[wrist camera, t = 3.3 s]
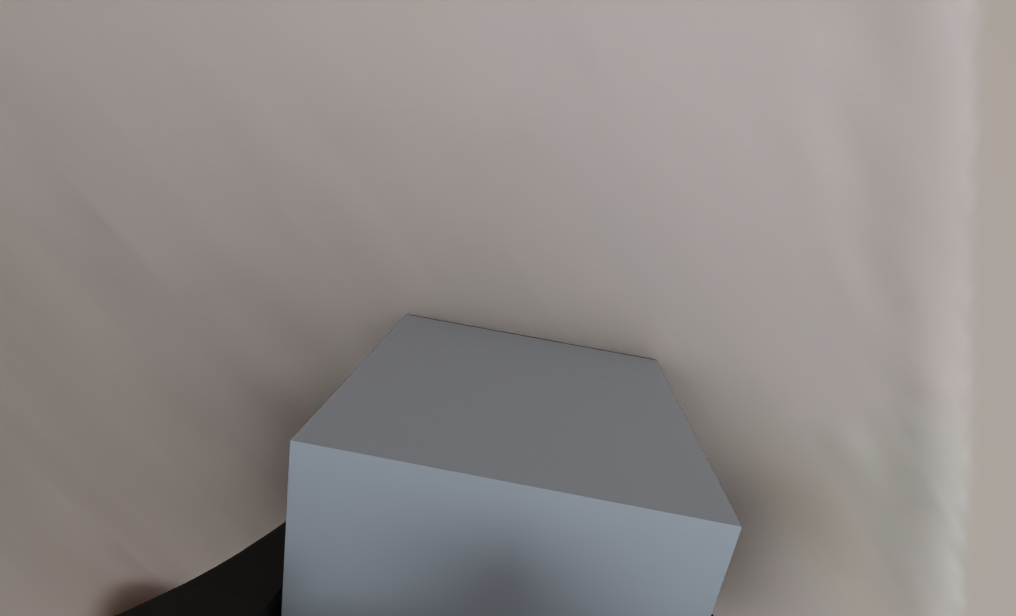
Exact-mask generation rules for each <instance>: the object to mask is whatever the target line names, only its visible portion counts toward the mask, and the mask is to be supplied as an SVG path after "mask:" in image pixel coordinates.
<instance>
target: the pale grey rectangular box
mask: <svg viewBox="0 0 1016 616" xmlns="http://www.w3.org/2000/svg"><path fill="white" fill-rule="evenodd" d="M741 529H742V525H741V523H740V522H739V520H738V518H737V516H736V514H735V512H734V510H733V508H732V506H731V504H730V502H729V500H728V498H727V496H726V494H725V493H724V491H723V489H722V487H721V485H720V483H719V481H718V479H717V477H716V475H715V473H714V471H713V469H712V467H711V465H710V464H709V462H708V460H707V458H706V456H705V454H704V452H703V450H702V448H701V446H700V444H699V442H698V440H697V438H696V436H695V435H694V433H693V431H692V429H691V427H690V425H689V423H688V421H687V419H686V417H685V415H684V413H683V411H682V409H681V407H680V405H679V404H678V402H677V400H676V398H675V396H674V394H673V392H672V390H671V388H670V386H669V384H668V382H667V380H666V378H665V376H664V375H663V373H662V371H661V369H660V367H659V365H658V363H657V361H656V360H652V359H647V358H641V357H636V356H630V355H625V354H619V353H614V352H608V351H603V350H597V349H592V348H586V347H581V346H575V345H570V344H565V343H559V342H554V341H548V340H543V339H537V338H532V337H526V336H521V335H515V334H510V333H504V332H499V331H493V330H488V329H482V328H477V327H472V326H466V325H461V324H455V323H450V322H444V321H439V320H433V319H428V318H422V317H417V316H411V315H406V316H405V317H404V318H403V319H402V320H401V321H400V322H399V323H398V325H397V326H396V327H395V328H394V329H393V330H392V331H391V332H390V333H389V334H388V335H387V336H386V337H385V339H384V340H383V341H382V342H381V343H380V344H379V345H378V346H377V347H376V348H375V349H374V350H373V351H372V353H371V354H370V355H369V356H368V357H367V358H366V359H365V360H364V361H363V362H362V363H361V364H360V365H359V367H358V368H357V369H356V370H355V371H354V372H353V373H352V374H351V375H350V376H349V377H348V378H347V379H346V381H345V382H344V383H343V384H342V385H341V386H340V387H339V388H338V389H337V390H336V391H335V392H334V393H333V395H332V396H331V397H330V398H329V399H328V400H327V401H326V402H325V403H324V404H323V405H322V406H321V407H320V409H319V410H318V411H317V412H316V413H315V414H314V415H313V416H312V417H311V418H310V419H309V420H308V421H307V423H306V424H305V425H304V426H303V427H302V428H301V429H300V430H299V431H298V432H297V433H296V434H295V435H294V437H293V438H292V439H291V440H290V453H289V473H288V493H287V513H286V533H285V553H284V573H283V593H282V613H281V616H711V615H712V612H713V609H714V606H715V603H716V600H717V597H718V595H719V592H720V589H721V586H722V583H723V580H724V578H725V575H726V572H727V569H728V566H729V563H730V560H731V558H732V555H733V552H734V549H735V546H736V543H737V541H738V538H739V535H740V532H741Z"/></svg>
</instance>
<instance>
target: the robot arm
mask: <svg viewBox="0 0 1016 616" xmlns="http://www.w3.org/2000/svg"><path fill="white" fill-rule="evenodd" d="M285 533H286V522H284V523H283V524H282V525H280V526H279V527H277V528H276V529H275V530H273V531H272V532H270V533H269V534H267V535H266V536H264V537H263V538H261V539H260V540H258V541H256V542H255V543H253V544H252V545H250V546H249V547H247V548H246V549H244V550H243V551H241V552H240V553H238V554H236V555H235V556H233V557H231V558H230V559H228V560H226V561H225V562H223V563H221V564H220V565H218V566H216V567H215V568H213V569H211V570H209V571H207V572H205V573H204V574H202V575H200V576H198V577H196V578H194V579H193V580H191V581H189V582H187V583H185V584H183V585H181V586H179V587H177V588H174V589H172V590H170V591H168V592H166V593H164V594H162V595H160V596H157V597H155V598H153V599H151V600H149V601H147V602H145V603H143V604H141V605H138V606H136V607H134V608H132V609H130V610H127V611H125V612H123V613H120V614H118V615H115V616H281V613H282V593H283V573H284V553H285ZM711 616H713V615H711Z"/></svg>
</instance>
